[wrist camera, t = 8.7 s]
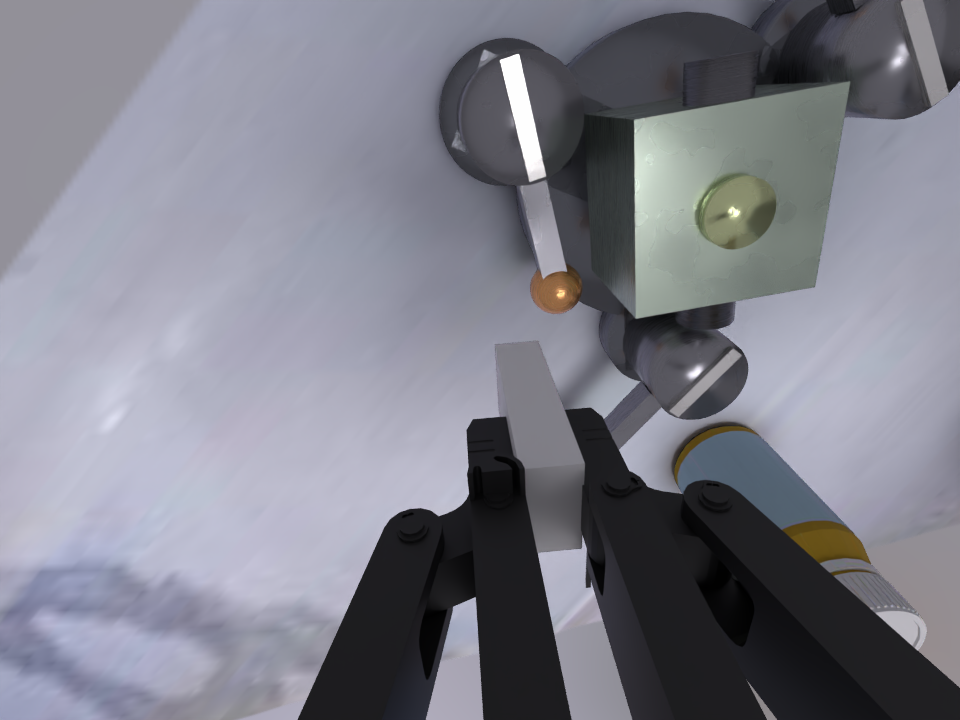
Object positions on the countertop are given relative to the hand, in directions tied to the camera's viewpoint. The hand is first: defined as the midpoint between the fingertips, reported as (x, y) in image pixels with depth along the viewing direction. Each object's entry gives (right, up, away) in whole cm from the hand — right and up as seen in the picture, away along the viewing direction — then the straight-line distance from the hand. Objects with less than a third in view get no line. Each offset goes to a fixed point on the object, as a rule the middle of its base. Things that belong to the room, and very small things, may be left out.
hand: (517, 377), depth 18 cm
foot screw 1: (+1, +9, +8) cm, 12 cm away
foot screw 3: (+13, +17, +5) cm, 22 cm away
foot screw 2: (+8, -1, +14) cm, 16 cm away
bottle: (+17, -7, +21) cm, 27 cm away
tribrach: (+8, +9, +12) cm, 17 cm away
